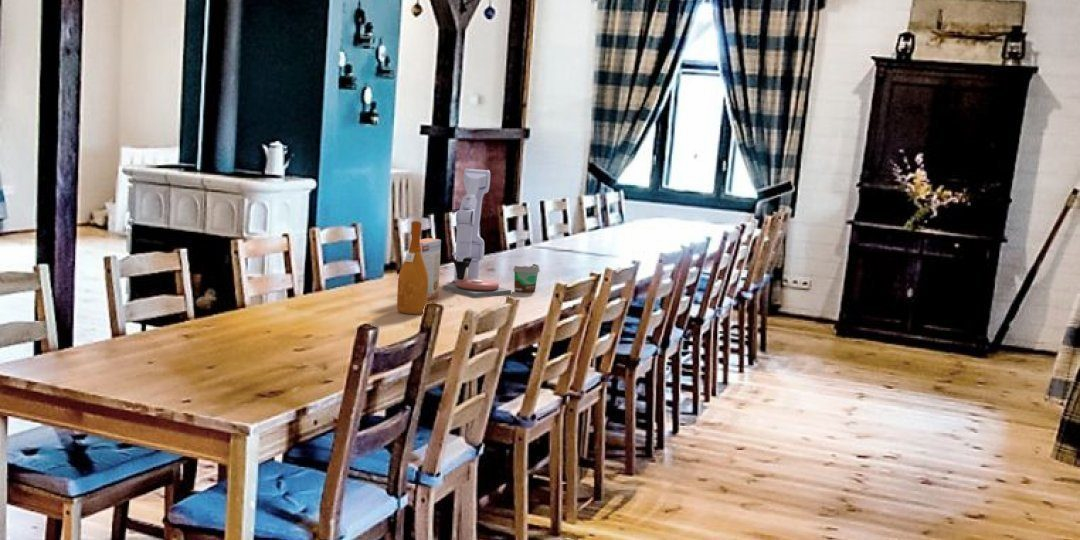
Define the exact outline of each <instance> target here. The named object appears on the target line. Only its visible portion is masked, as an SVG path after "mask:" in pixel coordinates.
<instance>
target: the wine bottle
mask: <svg viewBox="0 0 1080 540" xmlns="http://www.w3.org/2000/svg"><path fill="white" fill-rule="evenodd" d="M410 226H411V231H410V235H411V241H410V242H411V246H410V248H409V247H408V251H407V252H406V254H405V256H404V261H403V263H402V265H401V267H400V270H399V274H398V280H397V297H396V302H397V303H396V306H397V307H396V308H397V311H398V312H399V313H400V314H401V313H402V314H406V315H422V314H423V313H422V312H423V309H424V306H425V304H426V303H427V302H428V300H427V295H428V273H427V269H426V265H425V263H424V260H423V257H422V254H421V248H420V240H421V238H420V237H421V235H422V222H420V221H418V220H413V221H411V223H410Z"/></svg>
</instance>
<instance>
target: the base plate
mask: <svg viewBox="0 0 1080 540" xmlns="http://www.w3.org/2000/svg"><path fill="white" fill-rule="evenodd" d="M442 290H444V291H447V292H452V293H456V294H461V295H463V296H468V297H471V298H475V299H476V298H485V297H495V296H505V295H507V294H508V295H512V289H509V288H505V287H504V288H503V287H500V286H499V288H498V289H495V290H471V289H464V288H460V287H457V286H456V283H453V284H452V283H450V284H443V285H442ZM508 295H507V296H508Z"/></svg>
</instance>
